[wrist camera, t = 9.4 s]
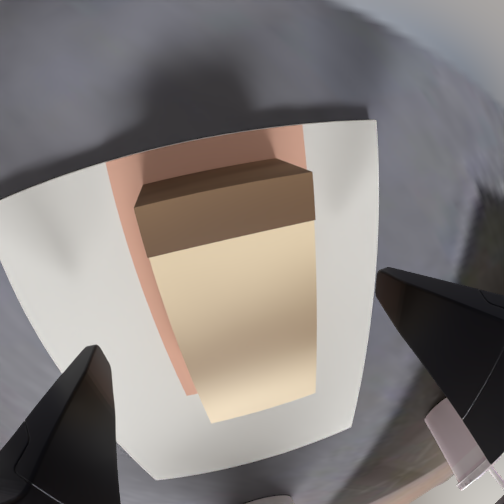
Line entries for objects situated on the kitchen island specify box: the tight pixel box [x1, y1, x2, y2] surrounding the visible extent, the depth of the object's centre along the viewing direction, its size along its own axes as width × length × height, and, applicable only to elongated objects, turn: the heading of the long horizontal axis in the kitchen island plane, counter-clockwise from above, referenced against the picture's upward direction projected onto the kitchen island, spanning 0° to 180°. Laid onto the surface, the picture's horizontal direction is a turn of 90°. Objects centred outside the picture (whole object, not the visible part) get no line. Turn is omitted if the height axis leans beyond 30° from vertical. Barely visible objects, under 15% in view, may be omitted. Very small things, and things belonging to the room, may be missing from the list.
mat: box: [0, 120, 379, 480], centre depth 12 cm, size 19×14×1 cm
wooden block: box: [134, 158, 317, 424], centre depth 9 cm, size 8×4×2 cm, turn 5°
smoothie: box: [425, 398, 504, 490], centre depth 18 cm, size 6×6×14 cm
